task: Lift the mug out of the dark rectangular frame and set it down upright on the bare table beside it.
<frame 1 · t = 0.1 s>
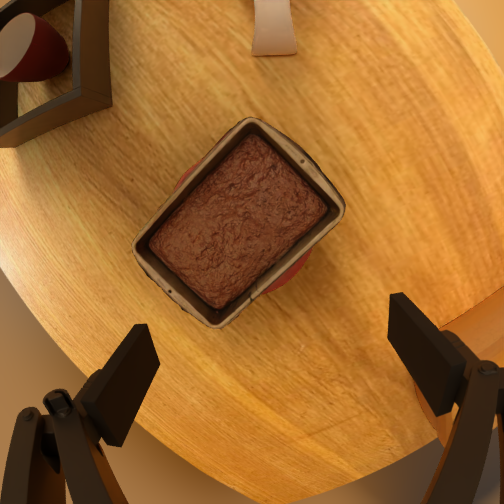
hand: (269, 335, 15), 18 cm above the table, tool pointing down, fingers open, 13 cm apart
dark rectangular frame: (55, 57, 27), on the table
baking dish: (240, 219, 33), on the table
mug: (55, 57, 27), resting in dark rectangular frame
bread: (475, 337, 36), on the table
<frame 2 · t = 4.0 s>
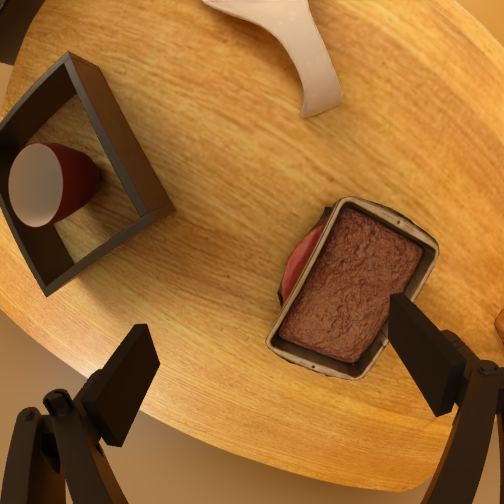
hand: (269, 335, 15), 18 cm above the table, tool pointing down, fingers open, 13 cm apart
dark rectangular frame: (79, 173, 32), on the table
baking dish: (342, 276, 34), on the table
spoon rest: (272, 25, 27), on the table
mug: (80, 173, 32), resting in dark rectangular frame
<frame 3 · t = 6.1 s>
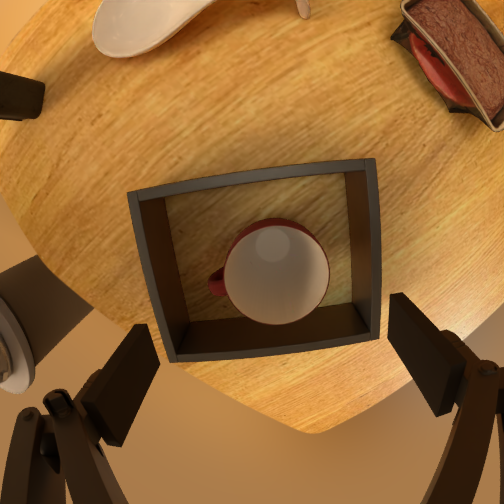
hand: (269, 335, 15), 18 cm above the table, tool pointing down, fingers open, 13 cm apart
dark rectangular frame: (262, 250, 32), on the table
baking dish: (447, 59, 25), on the table
spoon rest: (200, 12, 25), on the table
mug: (262, 250, 33), resting in dark rectangular frame
candle: (31, 101, 28), on the table
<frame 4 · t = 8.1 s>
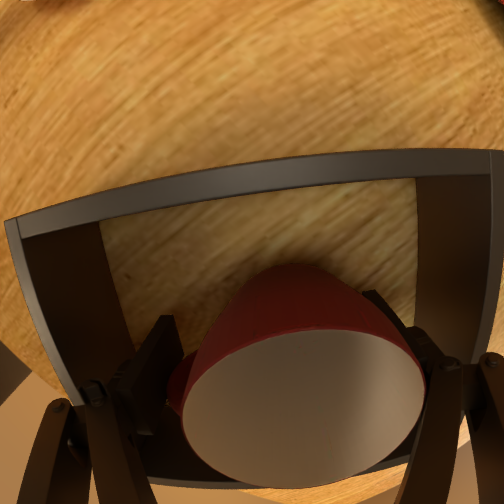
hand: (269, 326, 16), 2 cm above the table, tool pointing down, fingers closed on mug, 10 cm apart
dark rectangular frame: (269, 311, 18), on the table
mug: (269, 310, 18), resting in dark rectangular frame, touching gripper
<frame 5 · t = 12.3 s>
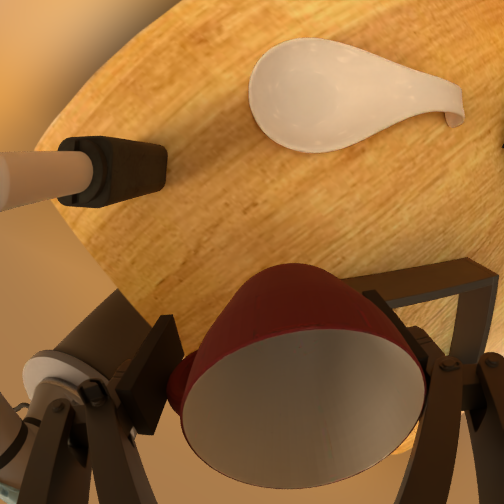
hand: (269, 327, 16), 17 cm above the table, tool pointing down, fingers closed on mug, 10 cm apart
dark rectangular frame: (397, 331, 35), on the table
spoon rest: (360, 100, 28), on the table
mug: (269, 309, 18), point 15 cm above the table, touching gripper
candle: (145, 167, 31), on the table
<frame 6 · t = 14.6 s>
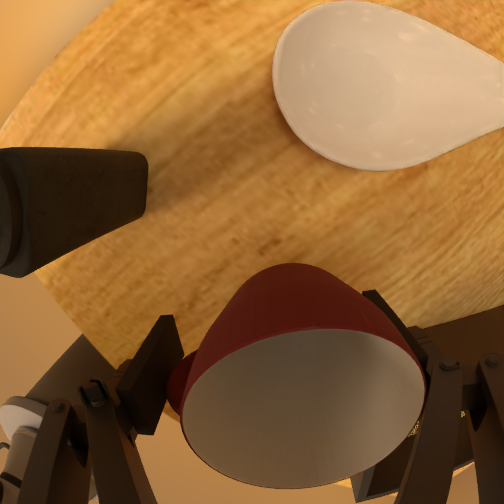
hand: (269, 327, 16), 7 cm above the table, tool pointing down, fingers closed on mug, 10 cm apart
dark rectangular frame: (440, 387, 25), on the table
spoon rest: (422, 96, 18), on the table
mug: (269, 309, 18), point 5 cm above the table, touching gripper
candle: (117, 185, 21), on the table
when the fingers open (2 cm above the table, at t = 16.4 s): mug stays where it is, on the table.
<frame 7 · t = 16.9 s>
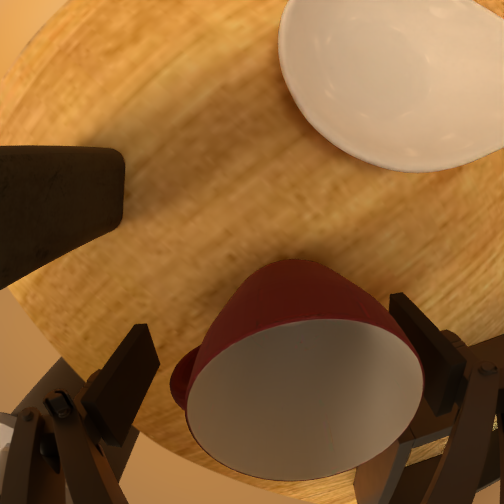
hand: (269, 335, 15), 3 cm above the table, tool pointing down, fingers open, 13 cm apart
dark rectangular frame: (459, 412, 21), on the table
spoon rest: (454, 85, 14), on the table
mug: (271, 306, 18), on the table
candle: (90, 188, 17), on the table
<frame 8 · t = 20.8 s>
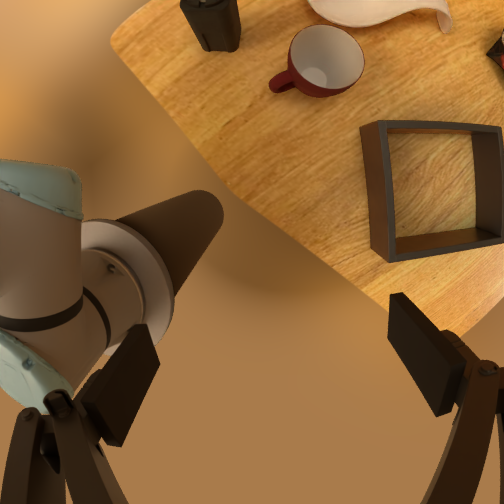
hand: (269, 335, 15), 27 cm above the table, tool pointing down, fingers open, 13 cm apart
dark rectangular frame: (430, 183, 38), on the table
spoon rest: (378, 9, 31), on the table
mug: (305, 84, 36), on the table
candle: (221, 37, 34), on the table
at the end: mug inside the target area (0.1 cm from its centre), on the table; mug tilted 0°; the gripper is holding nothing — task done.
